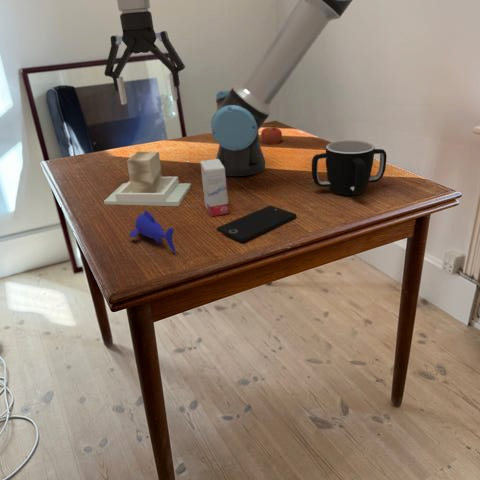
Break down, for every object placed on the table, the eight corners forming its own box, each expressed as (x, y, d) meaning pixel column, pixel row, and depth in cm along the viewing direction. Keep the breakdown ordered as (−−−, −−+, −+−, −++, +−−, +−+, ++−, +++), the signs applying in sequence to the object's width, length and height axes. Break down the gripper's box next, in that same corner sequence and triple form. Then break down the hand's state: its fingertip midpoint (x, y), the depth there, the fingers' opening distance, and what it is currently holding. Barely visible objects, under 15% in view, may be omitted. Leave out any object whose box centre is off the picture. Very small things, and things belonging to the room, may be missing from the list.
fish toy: (124, 237, 107) (120, 210, 104) (153, 227, 112) (149, 200, 109) (161, 259, 97) (156, 229, 94) (191, 247, 101) (188, 218, 98)
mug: (340, 176, 137) (342, 135, 132) (390, 188, 127) (395, 144, 121) (304, 192, 127) (305, 148, 122) (356, 206, 117) (359, 159, 111)
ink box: (229, 214, 116) (226, 167, 111) (209, 217, 115) (205, 170, 110) (222, 202, 124) (219, 157, 119) (203, 204, 123) (199, 160, 118)
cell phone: (215, 231, 109) (215, 227, 108) (270, 208, 119) (270, 205, 119) (242, 243, 103) (242, 239, 102) (297, 217, 113) (297, 214, 113)
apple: (261, 144, 172) (261, 122, 169) (282, 144, 171) (282, 122, 168) (260, 150, 166) (259, 127, 162) (281, 150, 165) (281, 126, 161)
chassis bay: (191, 188, 134) (190, 176, 133) (178, 207, 122) (177, 194, 120) (123, 188, 137) (122, 176, 136) (104, 206, 125) (102, 194, 123)
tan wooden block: (163, 186, 132) (158, 151, 128) (154, 197, 125) (149, 160, 121) (142, 186, 133) (137, 151, 129) (132, 197, 126) (126, 160, 122)
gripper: (188, 6, 116) (199, 96, 126) (91, 15, 119) (108, 102, 128) (183, 6, 110) (194, 101, 119) (79, 16, 112) (98, 108, 122)
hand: (149, 102), depth 124 cm, fingers open, 13 cm apart
